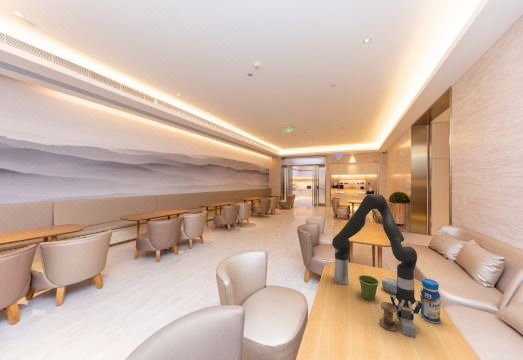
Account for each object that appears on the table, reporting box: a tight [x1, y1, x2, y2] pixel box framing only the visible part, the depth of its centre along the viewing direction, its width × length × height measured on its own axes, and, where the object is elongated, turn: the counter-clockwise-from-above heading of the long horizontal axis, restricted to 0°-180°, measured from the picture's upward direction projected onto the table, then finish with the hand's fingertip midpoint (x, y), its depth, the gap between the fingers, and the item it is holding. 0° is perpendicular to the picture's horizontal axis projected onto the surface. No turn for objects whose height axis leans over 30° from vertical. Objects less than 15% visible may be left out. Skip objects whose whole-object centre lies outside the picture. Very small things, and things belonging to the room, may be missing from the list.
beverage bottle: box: [419, 278, 442, 324], centre depth 106 cm, size 8×8×20 cm
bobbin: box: [378, 301, 399, 332], centre depth 101 cm, size 8×8×10 cm
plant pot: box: [357, 274, 380, 301], centre depth 125 cm, size 12×12×11 cm
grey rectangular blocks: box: [395, 303, 416, 339], centre depth 102 cm, size 5×18×4 cm, turn 154°
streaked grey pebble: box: [381, 277, 397, 295], centre depth 130 cm, size 14×10×10 cm
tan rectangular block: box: [401, 306, 411, 320], centre depth 102 cm, size 4×4×7 cm
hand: (405, 318), depth 102 cm, fingers closed on tan rectangular block, 4 cm apart
